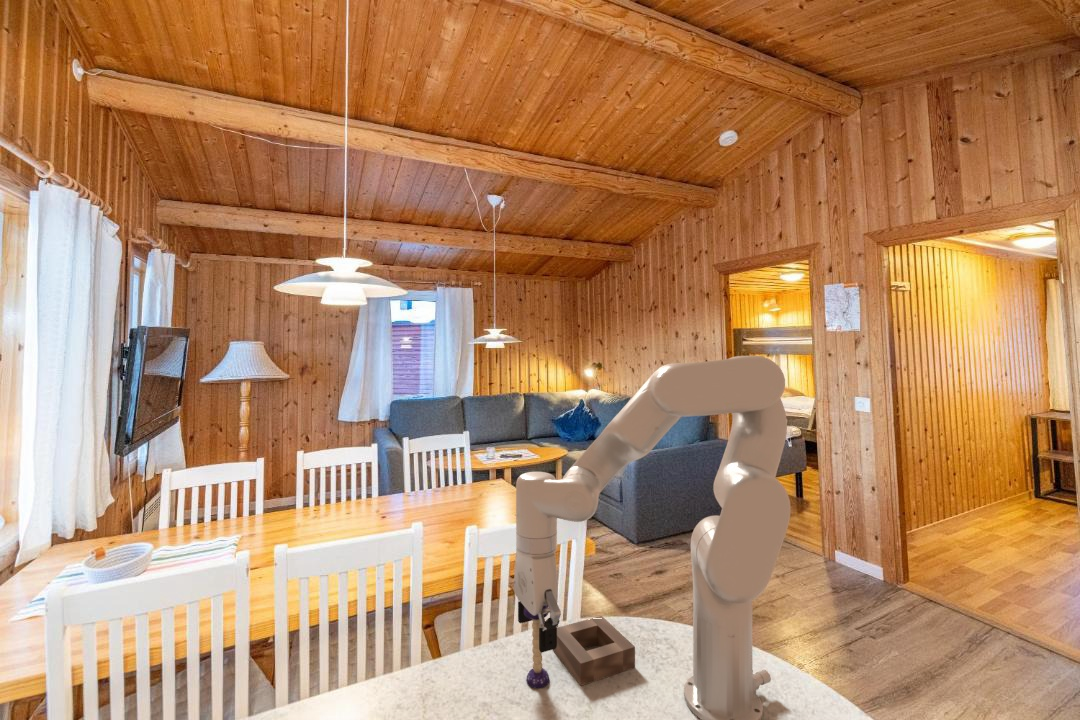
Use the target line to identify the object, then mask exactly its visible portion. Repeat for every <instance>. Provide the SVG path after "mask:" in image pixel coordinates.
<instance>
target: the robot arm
mask: <svg viewBox="0 0 1080 720" xmlns="http://www.w3.org/2000/svg"><path fill="white" fill-rule="evenodd" d="M785 388H786V378H785V375H784V372H783V370H782V369H781V367H780V366H779V365H778V364H777V363H776V362H775V361H774V360H771V359H770V358H768V357H765V356H763V355H762V356H761V355H737V356H732V357H730V358H724V359H716V360H708V361H700V362H699V361H697V362H683V363H682V362H680V363H677V362H676V363H675V362H674V363H666V364H665V365H662V366H660V367H659V368H657V370H655V371H654V372H653V373H652V374H651V376H649V377H648V379H647V380H646V381H645V382H644V384H643V385H642V386H640V388H639V389H638V390H637V391H636V393H634V395H633V396H632V397H631V398H630V399H629V401H627V403H626V404H625V405H624V406H623V407H622V409H621V410H620V411H619V412H618V413H617V414H616V415H615V416H614V417H613V418H612V420H611V421H610V422H609V423H608V424H607V425H606V427H605V428H604V429H603V430H602V431H601V433H600V434H599V435H598V436H597V438H596V439H594V441H593V442H592V443H591V444H590V445H589V446H588V447H587V449H585V451H584V452H583V453H582V454H581V455H580V456H579V457H578V459H577V460H576V461H575V462H574V463H573V464H572V465H571V466H570V467H569V468H568V469H567V471H566V472H565V474H564V475H563V477H562V479H556V477H555V475H553V474H552V473H550V472H545V471H528V472H525V473H522V474H520V475H519V476H518V477H517V480H516V481H515V482H516V483H515V487H516V490H515V510H516V511H515V560H514V574H513V575H514V577H513V590H514V591H513V592H514V594H515V596H516V598H517V600H518V601H517V621H518V623H519V624H523V623H528V622H531V621H532V619H529V618H527V617H526V616H525V615H524V607H525V608H526V609H527V610H528V611H529V612H530V613H531V614H532V615H534V616H535V615H537V614H538V616H539V620H540V624H541V628H539V650H540V652H542V653H545V652H548V651H553V649H556V647H557V628H558V627H559V624H560V618H561V616H562V612H561V611H562V610H561V609H560V607H559V605H558V601H559V600H558V599H559V597H558V595H559V594H558V593H559V592H558V590H559V589H558V570H557V560H556V554H555V553H556V552H557V551H558V534H557V533H558V519H559V520H563V521H566V522H567V521H568V522H573V523H575V522H576V523H581V522H585V521H588V520H589V519H591V518H592V517H593V516H594V515H595V514H596V512H597V509H598V505H599V498H600V497H599V496H600V494H601V493H602V491H603V490H604V489H605V487H606V486H607V485H608V484H609V483H610V482H611V480H613V479H614V477H615V476H616V475H617V474H618V473H619V472H620V471H621V470H622V469H624V468H625V467H626V466H627V465H629V464H631V463H632V462H635V461H638V460H640V459H642V458H644V457H645V456H647V455H648V454H649V453H651V451H652V450H653V449H654V448H655V446H656V445H657V444H658V443H659V442H660V441H661V439H663V437H664V436H665V435H666V434H667V433H668V431H669V430H670V429H671V428H672V427H673V426H674V425H675V424H676V423H677V422H678V421H679V420H680V419H681V418H682V417H702V416H703V417H704V416H715V415H725V414H732V415H731V416H732V418H731V419H732V424H731V427H730V432H729V436H728V440H727V443H726V446H725V450H724V453H723V455H722V459H721V461H720V464H719V468H718V470H717V472H716V475H715V478H714V481H713V484H712V485H713V494H714V497H715V500H716V501H717V503H718V505H719V506H720V507H721V512H720V513H719V514H720V515H710V516H709V515H708V516H706V517H704V518H702V519H701V520H700V521H699V522H698V523H697V524H696V525H695V527H694V528H693V531H692V532H691V536H690V537H691V538H690V558H691V559H690V560H691V574H692V642H693V643H692V646H693V647H692V665H693V666H692V668H693V669H692V676H690V678H688V679H687V681H685V682H684V683H685V684H684V686H683V695H684V701H685V703H686V705H687V707H688V708H689V710H690V711H691V712H692V713H693V714H694V715H695V716H696V717H698V718H699V719H700V720H762V719H763V716H764V715H763V714H764V709H763V708H764V707H763V703H762V700H761V698H760V697H759V696H758V694H757V690H759V689H760V686H764V685H766V684H768V683H771V680H772V677H771V675H770V673H769V672H768V671H767V670H765V669H762V670H759V671H757V672H755V673H754V670H753V601H754V600H756V599H757V598H759V596H760V595H761V594H763V592H764V591H765V590H766V588H767V587H768V585H769V582H770V580H771V577H772V575H773V572H774V569H775V567H776V564H777V561H778V558H779V555H780V552H781V549H782V545H783V543H784V540H785V537H786V534H787V531H788V527H789V524H790V519H791V510H792V509H791V507H792V506H791V500H790V497H789V494H788V492H787V490H786V488H785V487H784V485H783V484H782V483H781V482H780V481H779V479H777V477H776V476H777V473H778V468H779V465H780V462H781V459H782V456H783V455H782V454H783V451H784V448H785V443H786V439H787V433H788V422H787V421H788V420H787V419H788V418H787V413H786V410H785V407H784V403H783V401H782V399H781V397H782V396H783V393H784V392H785ZM545 605H548V608H545V609H542V608H543V606H545ZM545 613H548V614H549V617H548V618H547V619H546V617H545V618H544V614H545ZM532 622H533V621H532Z"/></svg>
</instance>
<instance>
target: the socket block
mask: <svg viewBox="0 0 1080 720" xmlns="http://www.w3.org/2000/svg"><path fill="white" fill-rule="evenodd" d="M593 618H602V619H593ZM589 619H590V620H588V619H584V620H581V621H577V622H573V623H570V624H569V623H568V624H565V625H561V626H558V627H557V647H556V649H553V650H552V651H553V652H554V653H555V655H556V656H557V657H558V659H560V661H561V663H562V664H563V665H564V666H565V667H566V669H567V670H568V671H569V672H570V674H571V675H572V677H573V678H574V680H576V682H577V683H578V684H579V686H584V685H586V684H591V683H593V682H596V681H599V680H602V679H604V678H605V679H606V678H608V677H611V676H614V675H618V674H620V673H622V672H623V673H624V672H625V671H629V670H632V669H635V668H636V647H635V645H634V644H632V642H631V641H629V639H627V637H625V636H624V635H623V634H622V633H621V632H620V631H619V630H618V629H617V628H616V627H614V625H612V623H610V622H609V621H608V620H607V619H606V618H605V617H604V616H602V615H599V616H595V617H592V618H589ZM594 646H598V647H595V648H592V649H589V650H586V648H591V647H594Z"/></svg>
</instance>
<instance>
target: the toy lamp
mask: <svg viewBox="0 0 1080 720" xmlns="http://www.w3.org/2000/svg"><path fill="white" fill-rule="evenodd" d="M545 608H549V607H548V605H545V606H543V608H542V609H545ZM524 615H525V616H526V617H527V618H529V619H532V623H531V628H532V632H531V633H532V634H531V637H532V668H530V670H528V671H529V672H528V673H527V675H526V683H527V685H528V686H529V687H531V688H533V689H543V688H545V687H546V686H548V684H549V683H550V676H549V673H548V672H547V670H546V669H545V668H544V667H543V655H542V654H543V652H540V650H539V628H541V624H540V620H539V616H538V614H537V615H535V616H534V615H532V614H531V613H530V612H529V611H528V610H527V609H526V608H525V607H524ZM548 615H549V613H545V614H544V618H545V619H546V617H547V616H548Z"/></svg>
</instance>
